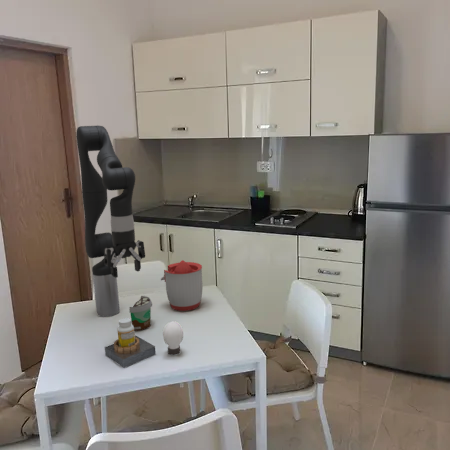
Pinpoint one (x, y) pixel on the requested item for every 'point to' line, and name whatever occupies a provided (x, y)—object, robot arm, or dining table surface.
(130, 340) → the supplement bottle
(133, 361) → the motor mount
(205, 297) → the dining table surface
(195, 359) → the dining table surface
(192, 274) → the citrus juicer
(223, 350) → the dining table surface
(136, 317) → the food container
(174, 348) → the light bulb
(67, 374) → the dining table surface
